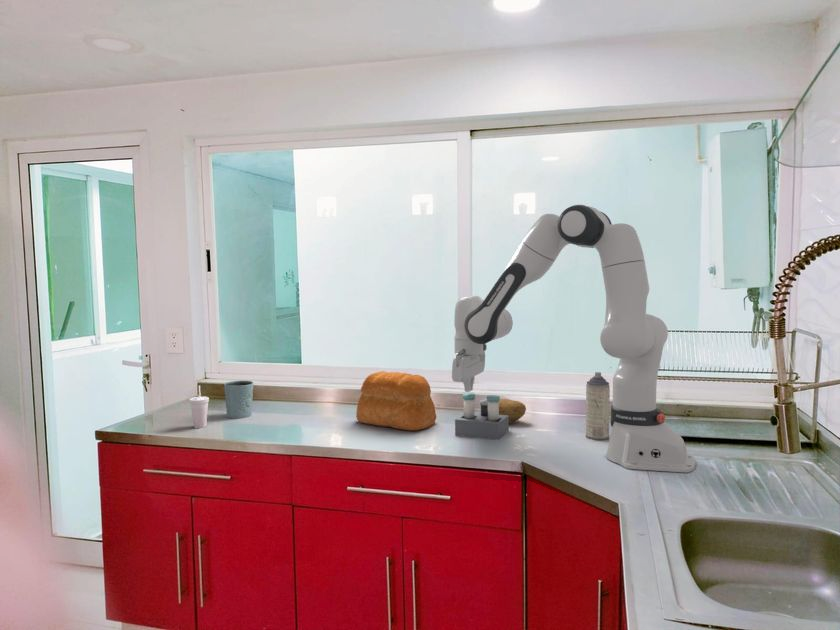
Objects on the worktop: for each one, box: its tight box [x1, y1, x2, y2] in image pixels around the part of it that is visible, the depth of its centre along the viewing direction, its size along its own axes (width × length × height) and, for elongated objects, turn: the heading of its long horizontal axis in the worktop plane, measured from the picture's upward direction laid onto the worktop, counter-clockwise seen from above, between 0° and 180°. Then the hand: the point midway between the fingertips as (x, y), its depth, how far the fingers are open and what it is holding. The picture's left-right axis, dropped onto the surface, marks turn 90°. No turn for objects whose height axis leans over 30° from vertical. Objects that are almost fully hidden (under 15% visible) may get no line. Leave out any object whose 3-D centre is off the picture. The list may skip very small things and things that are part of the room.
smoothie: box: [188, 385, 210, 429], centre depth 199 cm, size 6×6×14 cm
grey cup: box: [223, 380, 254, 420], centre depth 214 cm, size 10×10×12 cm
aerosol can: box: [585, 371, 611, 441], centre depth 181 cm, size 7×7×20 cm
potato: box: [499, 398, 527, 423], centre depth 200 cm, size 10×14×8 cm
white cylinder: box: [462, 392, 476, 418], centre depth 188 cm, size 4×4×7 cm
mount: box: [454, 398, 510, 441], centre depth 187 cm, size 14×11×10 cm
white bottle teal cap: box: [486, 394, 501, 421], centre depth 184 cm, size 4×4×7 cm
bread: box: [355, 370, 437, 432], centre depth 201 cm, size 16×26×17 cm, turn 58°
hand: (468, 391), depth 188 cm, fingers closed
